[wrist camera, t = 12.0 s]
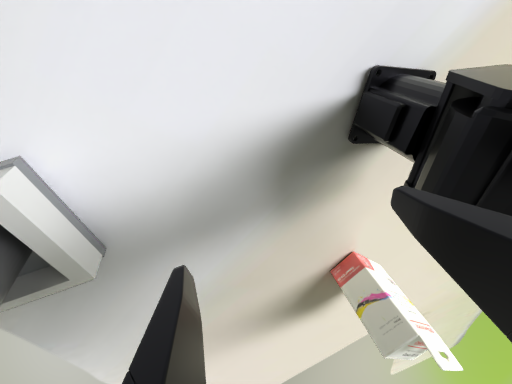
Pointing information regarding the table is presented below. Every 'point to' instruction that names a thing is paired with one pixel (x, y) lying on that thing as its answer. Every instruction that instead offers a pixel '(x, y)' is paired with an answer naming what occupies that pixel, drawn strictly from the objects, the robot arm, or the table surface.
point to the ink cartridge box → (389, 313)
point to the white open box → (44, 236)
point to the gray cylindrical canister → (10, 260)
